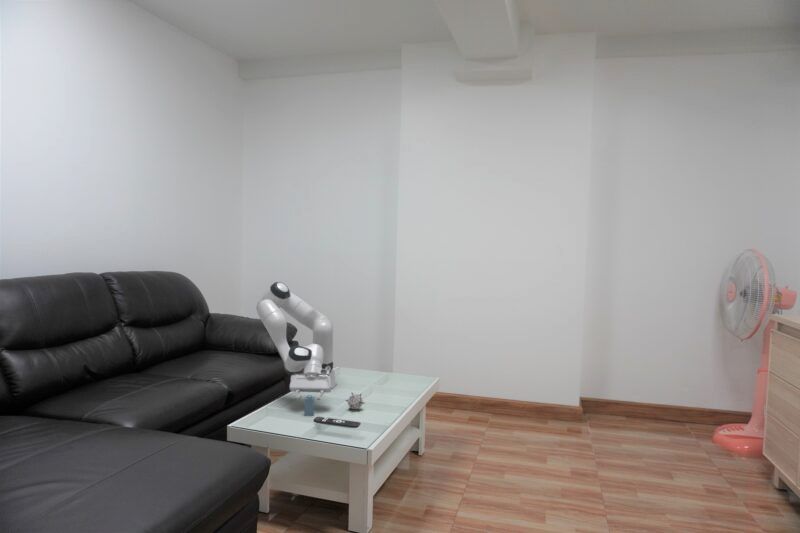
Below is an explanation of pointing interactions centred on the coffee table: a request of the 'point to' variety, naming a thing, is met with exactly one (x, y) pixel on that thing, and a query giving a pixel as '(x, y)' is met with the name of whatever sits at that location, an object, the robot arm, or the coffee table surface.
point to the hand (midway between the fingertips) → (308, 399)
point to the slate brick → (309, 406)
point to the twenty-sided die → (355, 401)
